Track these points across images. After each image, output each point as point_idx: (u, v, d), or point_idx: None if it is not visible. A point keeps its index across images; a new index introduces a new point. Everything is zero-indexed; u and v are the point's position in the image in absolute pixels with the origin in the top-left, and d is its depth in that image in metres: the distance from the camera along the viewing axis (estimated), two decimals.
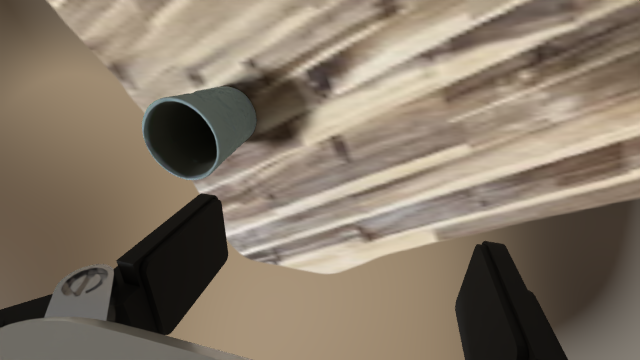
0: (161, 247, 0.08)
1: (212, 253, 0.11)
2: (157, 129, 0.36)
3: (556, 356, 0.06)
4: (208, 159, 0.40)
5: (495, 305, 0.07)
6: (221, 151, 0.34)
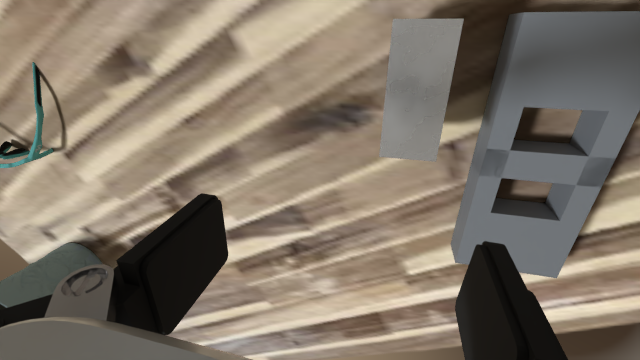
0: (161, 247, 0.08)
1: (212, 253, 0.11)
2: None
3: (556, 356, 0.06)
4: None
5: (495, 305, 0.07)
6: None
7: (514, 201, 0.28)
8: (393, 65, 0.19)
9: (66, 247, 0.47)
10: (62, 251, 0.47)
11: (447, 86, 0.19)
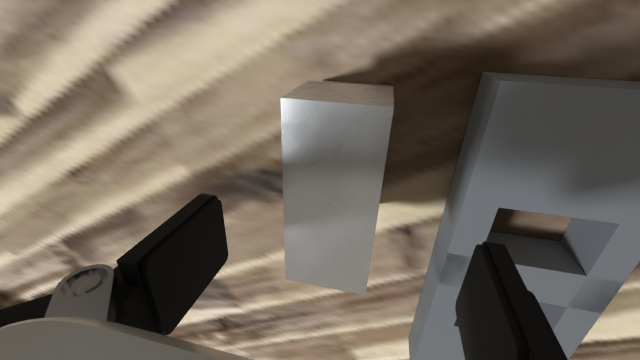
0: (161, 247, 0.08)
1: (212, 253, 0.11)
2: None
3: (555, 356, 0.06)
4: None
5: (495, 305, 0.07)
6: None
7: None
8: (290, 165, 0.12)
9: None
10: None
11: (374, 202, 0.12)
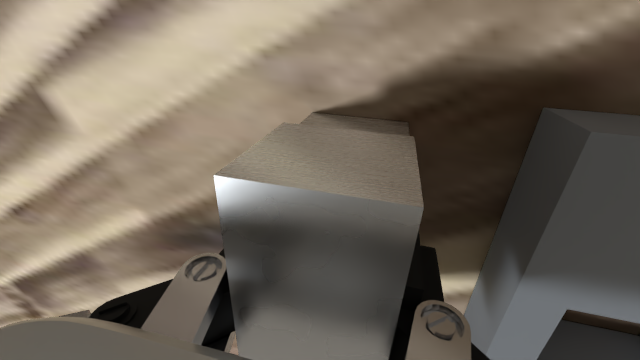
0: None
1: None
2: None
3: (419, 284, 0.07)
4: None
5: None
6: None
7: None
8: (240, 278, 0.07)
9: None
10: None
11: (383, 346, 0.07)
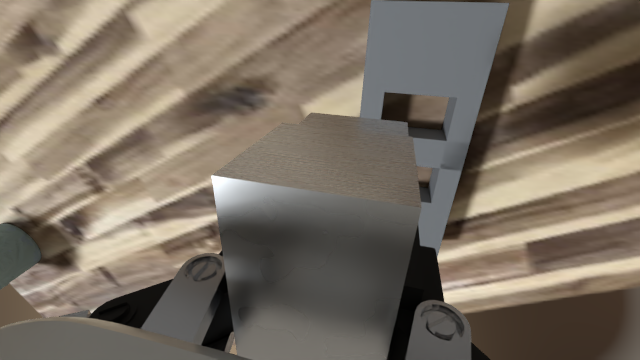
0: None
1: None
2: None
3: (420, 284, 0.07)
4: None
5: None
6: None
7: None
8: (239, 278, 0.07)
9: None
10: None
11: (381, 346, 0.07)
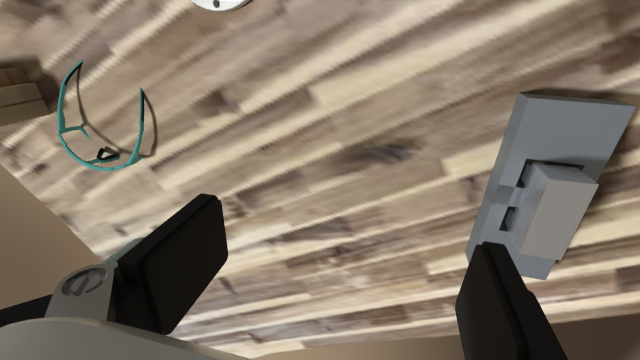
0: (161, 247, 0.08)
1: (212, 253, 0.11)
2: None
3: (556, 356, 0.06)
4: None
5: (495, 305, 0.07)
6: None
7: None
8: (543, 203, 0.29)
9: (137, 242, 0.56)
10: None
11: (579, 219, 0.29)
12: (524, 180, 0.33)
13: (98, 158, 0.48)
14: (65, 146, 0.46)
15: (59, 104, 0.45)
